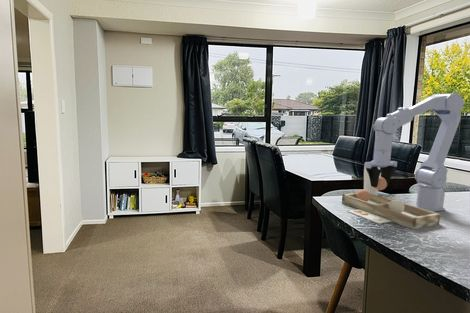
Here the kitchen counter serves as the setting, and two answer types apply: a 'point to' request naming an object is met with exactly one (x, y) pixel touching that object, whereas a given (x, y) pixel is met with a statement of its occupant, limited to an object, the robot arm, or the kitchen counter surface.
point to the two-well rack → (380, 207)
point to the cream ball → (396, 205)
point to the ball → (363, 195)
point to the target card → (369, 216)
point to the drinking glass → (367, 182)
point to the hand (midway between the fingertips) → (379, 186)
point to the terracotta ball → (381, 184)
